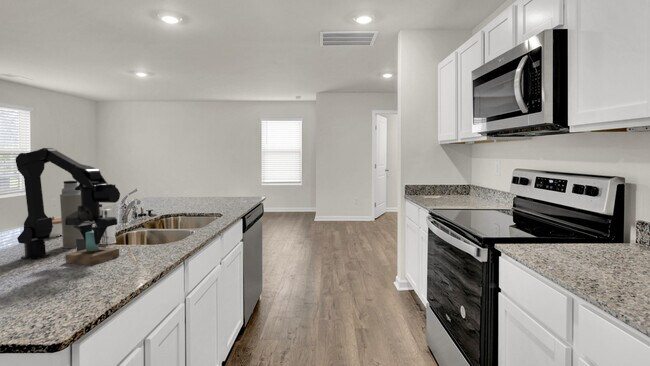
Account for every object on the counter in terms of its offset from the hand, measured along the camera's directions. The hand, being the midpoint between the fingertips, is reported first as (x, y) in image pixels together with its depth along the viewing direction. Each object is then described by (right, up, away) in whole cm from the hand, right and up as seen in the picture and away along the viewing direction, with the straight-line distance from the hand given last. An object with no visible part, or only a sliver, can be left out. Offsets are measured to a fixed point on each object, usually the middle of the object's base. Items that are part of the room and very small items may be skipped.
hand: (92, 244), depth 141 cm
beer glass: (-10, -4, +27) cm, 29 cm away
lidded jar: (-45, -3, +43) cm, 62 cm away
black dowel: (-10, -5, +10) cm, 15 cm away
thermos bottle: (-22, -5, +22) cm, 31 cm away
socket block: (0, -6, 0) cm, 6 cm away
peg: (0, -2, 0) cm, 2 cm away
